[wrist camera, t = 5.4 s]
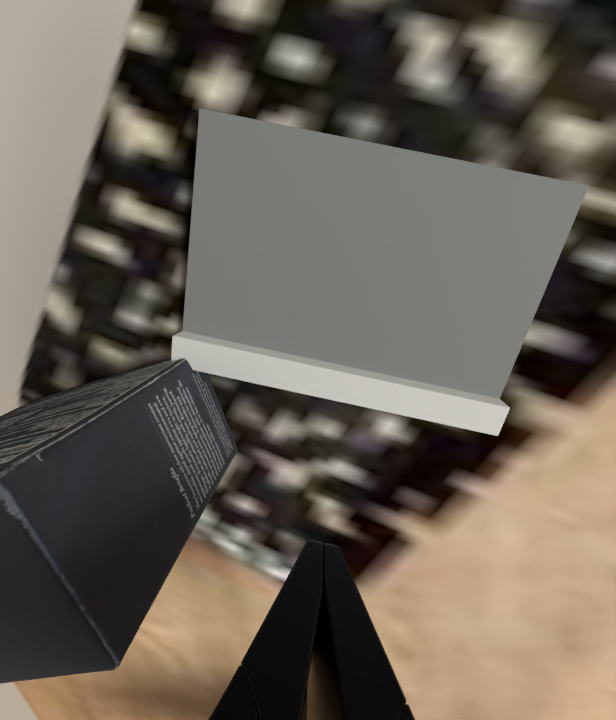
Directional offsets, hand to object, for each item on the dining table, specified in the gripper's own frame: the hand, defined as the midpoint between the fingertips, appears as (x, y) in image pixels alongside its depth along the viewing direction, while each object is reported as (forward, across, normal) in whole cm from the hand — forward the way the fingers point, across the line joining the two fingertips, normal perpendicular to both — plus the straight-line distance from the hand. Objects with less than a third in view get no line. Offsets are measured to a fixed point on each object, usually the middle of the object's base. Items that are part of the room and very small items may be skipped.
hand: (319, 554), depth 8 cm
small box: (+9, +10, +4) cm, 14 cm away
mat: (+9, 0, -6) cm, 11 cm away
